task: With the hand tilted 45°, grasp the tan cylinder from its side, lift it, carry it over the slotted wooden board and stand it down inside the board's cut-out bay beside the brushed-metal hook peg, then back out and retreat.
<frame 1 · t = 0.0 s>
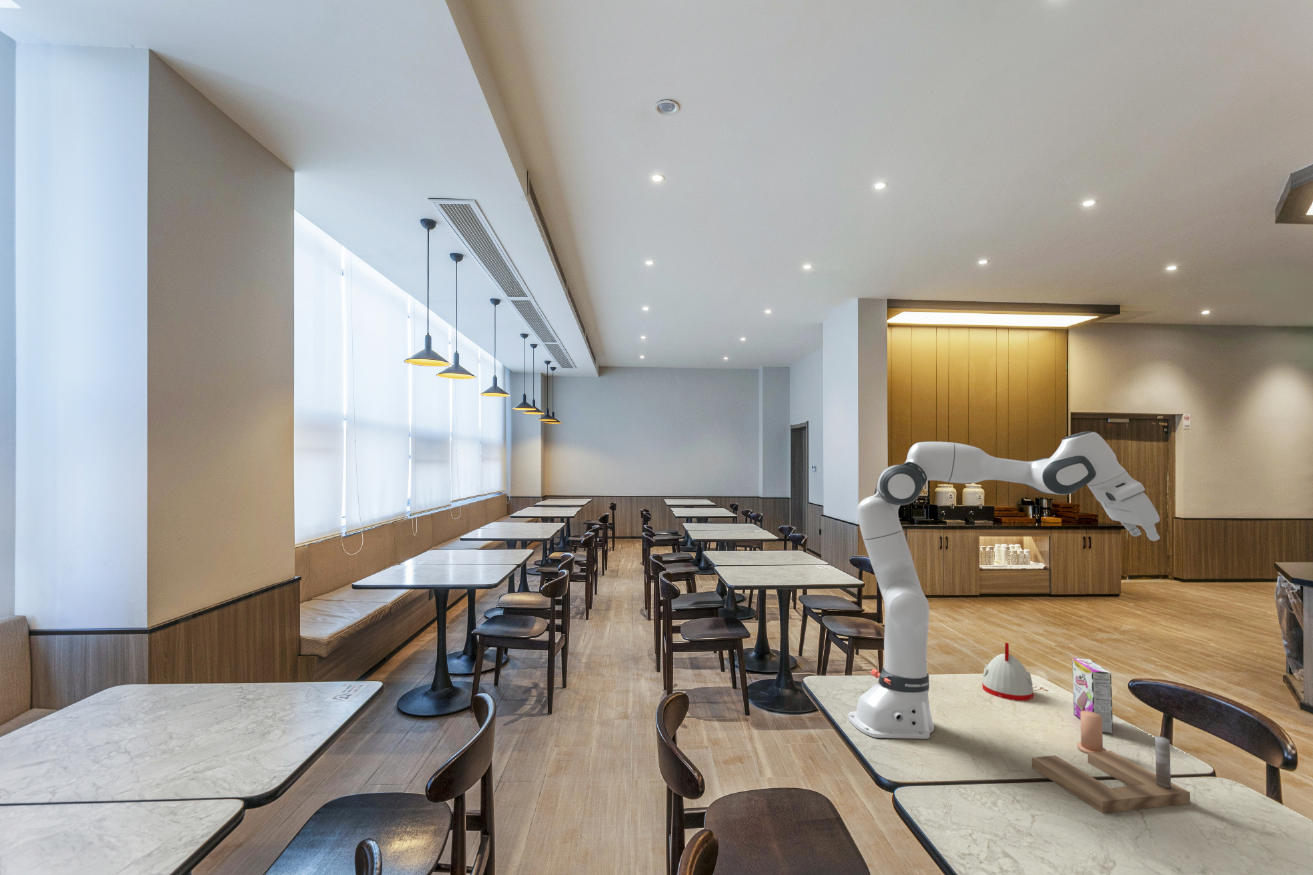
hand: (1146, 537, 145), 54 cm above the table, tool tilted 30°, fingers open, 8 cm apart
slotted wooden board: (1106, 784, 130), on the table
tan cylinder: (1091, 750, 146), on the table
candy bar box: (1092, 724, 161), on the table
kitchen timer: (1007, 692, 184), on the table
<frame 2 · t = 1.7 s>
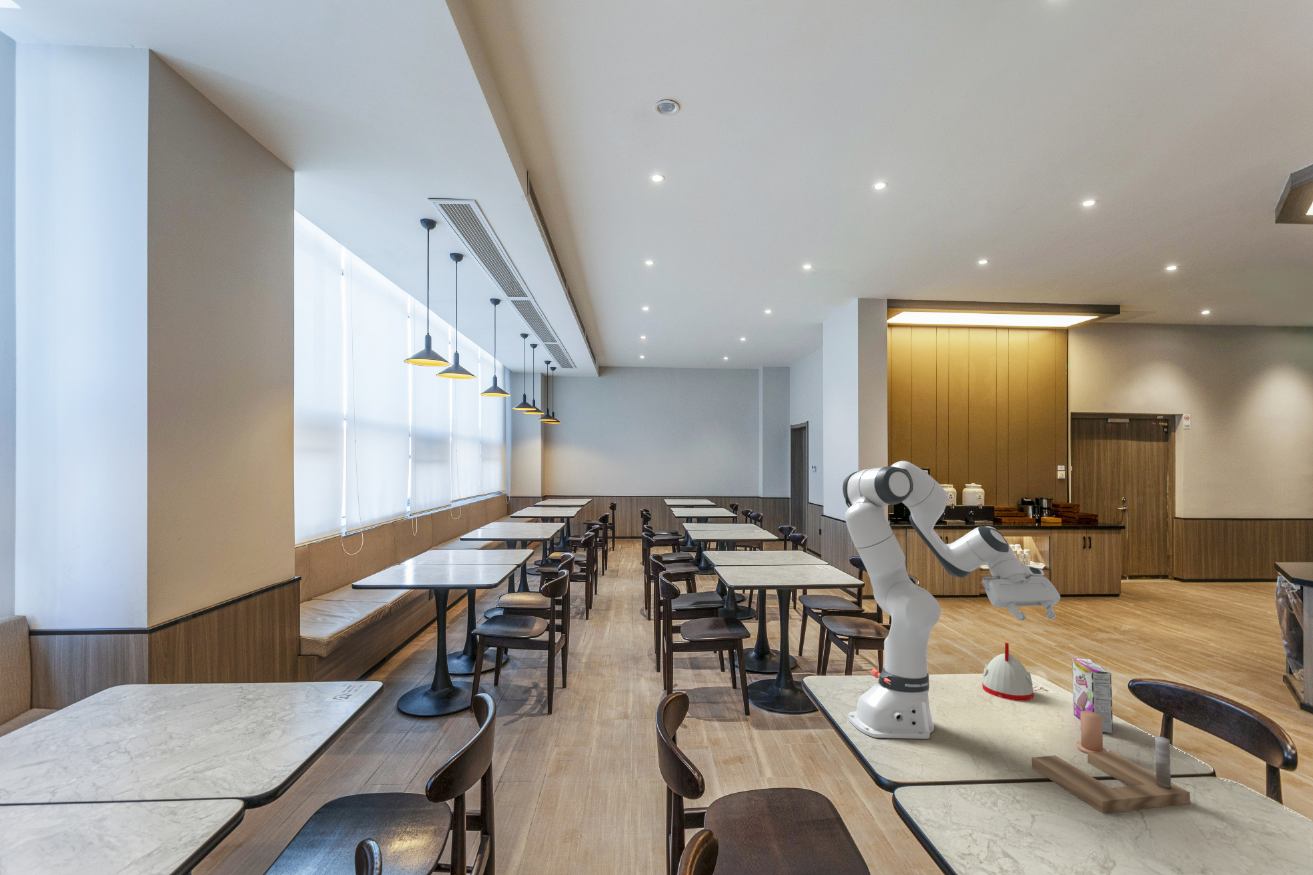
hand: (1037, 618, 161), 29 cm above the table, tool tilted 45°, fingers open, 8 cm apart
nothing on the table moved.
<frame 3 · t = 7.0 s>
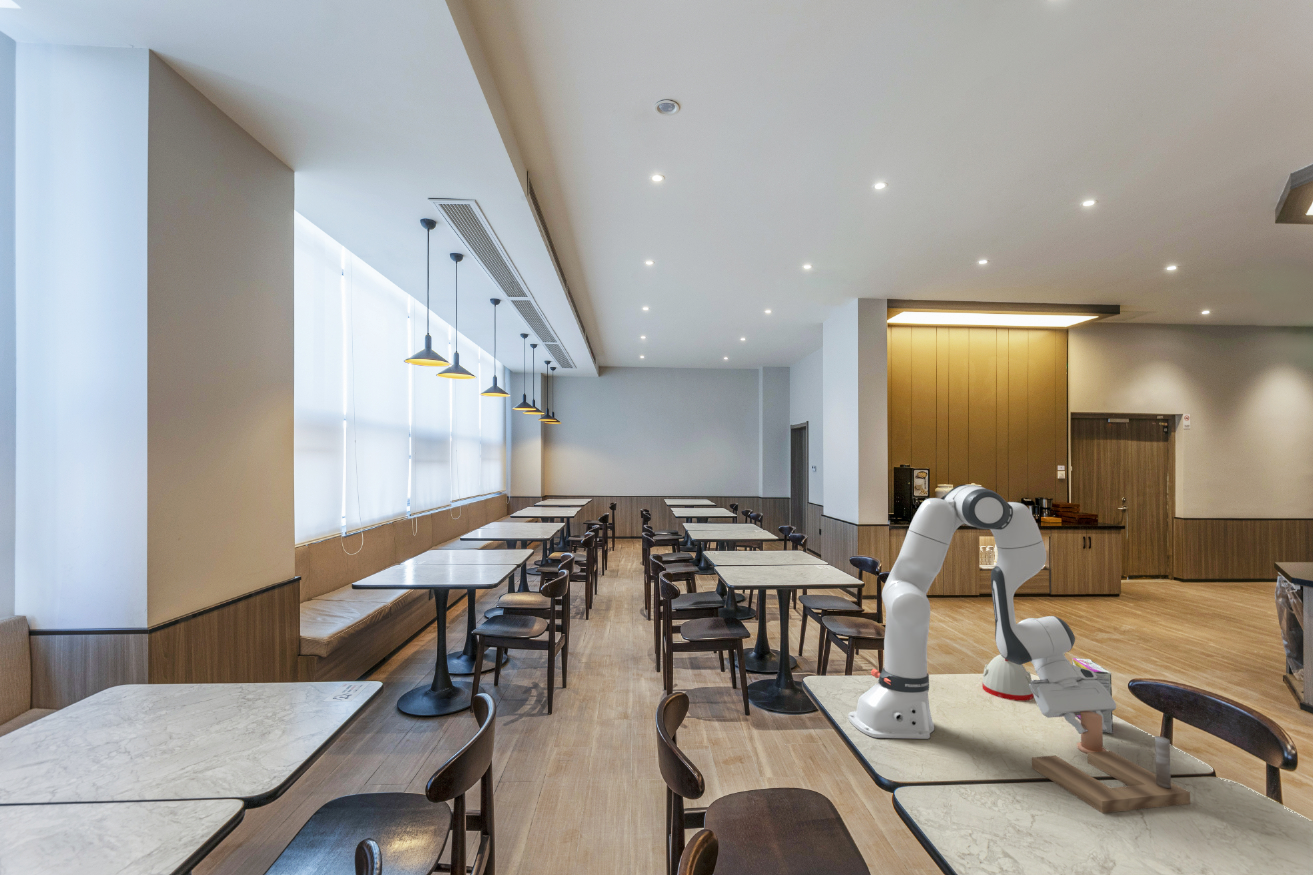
hand: (1093, 732, 146), 5 cm above the table, tool tilted 45°, fingers closed on tan cylinder, 4 cm apart
tan cylinder: (1091, 750, 146), on the table, touching gripper
everything else where it was.
when the fingers open (6 cm above the table, at t = 12.4 s): tan cylinder drops 1 cm, resting in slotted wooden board.
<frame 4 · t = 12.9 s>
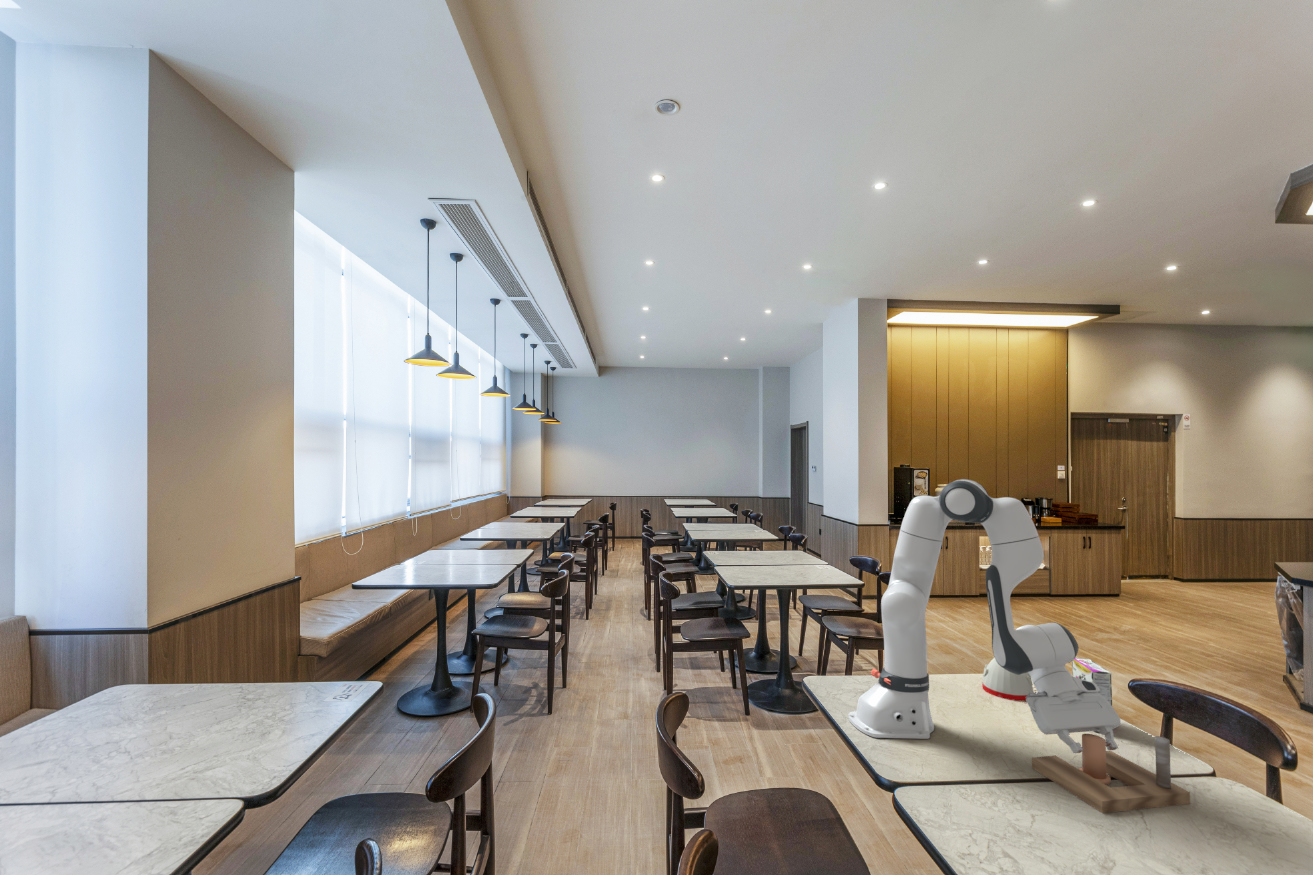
hand: (1096, 750, 133), 6 cm above the table, tool tilted 45°, fingers open, 8 cm apart
tan cylinder: (1094, 777, 133), resting in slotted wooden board
everything else where it was.
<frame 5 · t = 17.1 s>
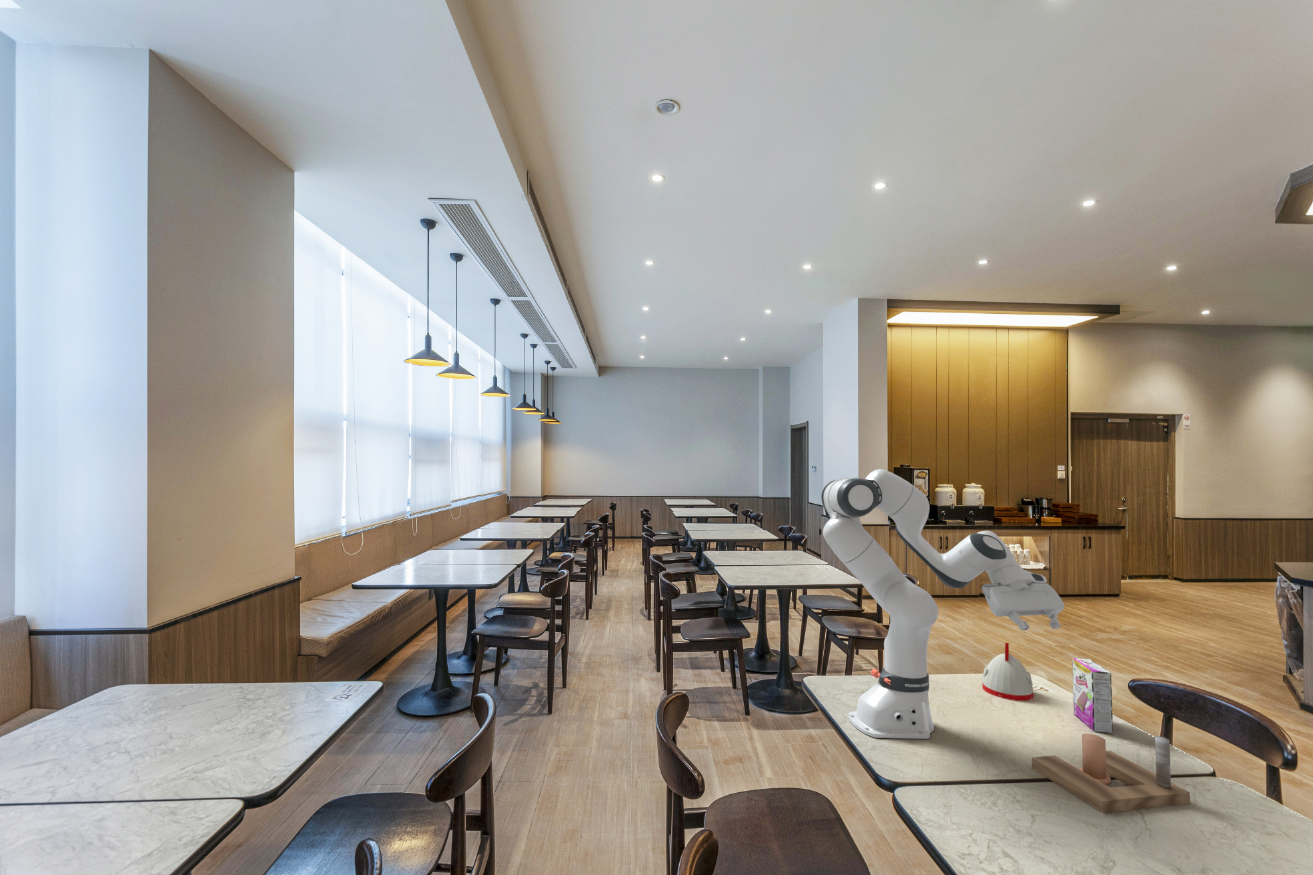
hand: (1041, 628, 151), 29 cm above the table, tool tilted 45°, fingers open, 8 cm apart
nothing on the table moved.
at the end: tan cylinder inside the target area on the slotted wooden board (0.1 cm from its centre), point 0.0 cm above the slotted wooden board's base; tan cylinder tilted 0°; the gripper is holding nothing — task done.
